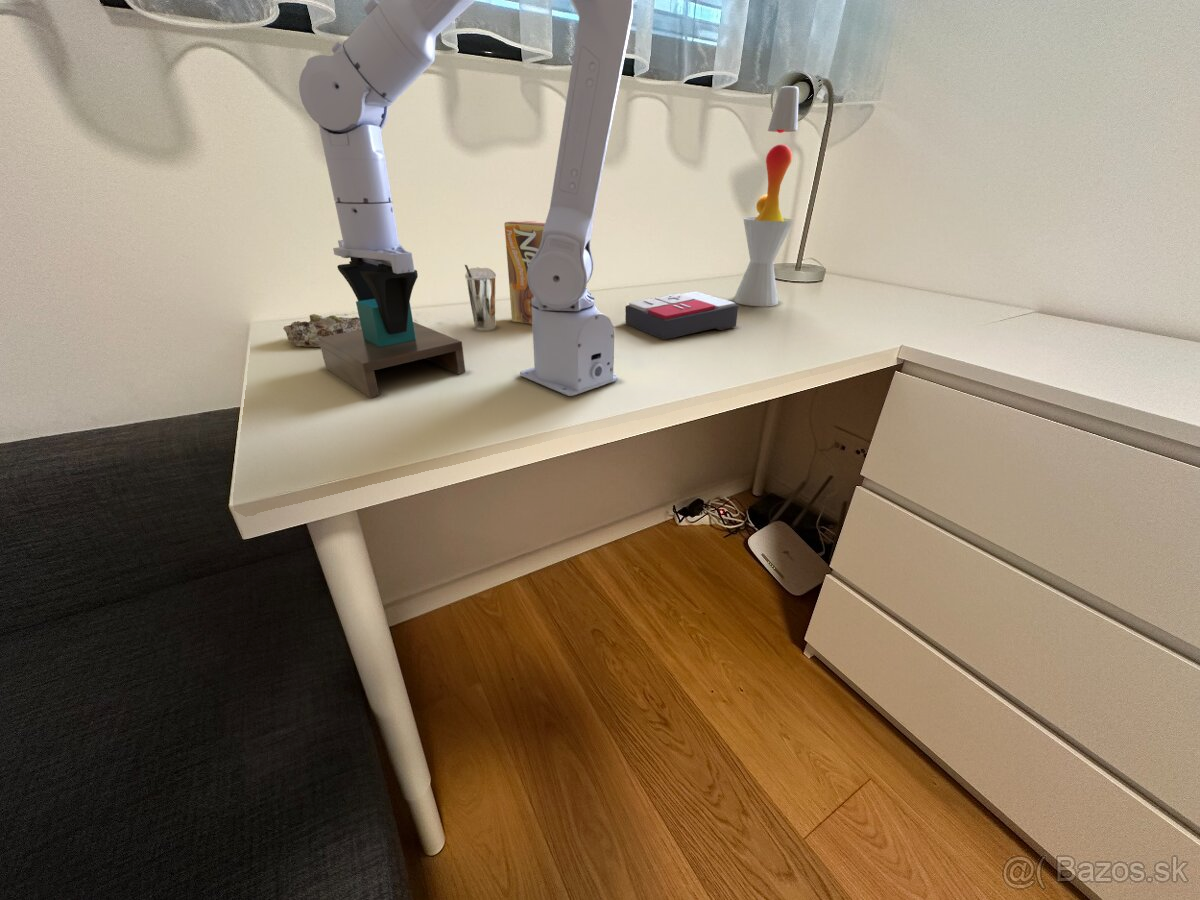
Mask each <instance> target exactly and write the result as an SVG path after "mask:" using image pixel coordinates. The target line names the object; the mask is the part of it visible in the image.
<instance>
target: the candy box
mask: <svg viewBox="0 0 1200 900" xmlns="http://www.w3.org/2000/svg"><path fill="white" fill-rule="evenodd" d="M545 222H546V221H536V220H535V221H534V220H511V221H505V222H504V223H503V224H504V225H503V226H504V236H505V249H506V260H507V261H506V262H507V272H508V273H507V275H508V286H509V299H510V300H509V301H510V311H511V313H510V314H511V321H512V322H514V323H515V322H516V323H522V324H530V325H532V303H531V299H532V298H533V297H534V295H533V294H532V292H531V290H530V288H529V285H528V281H527V270H528V266H529V263H530V261H531V259H532V258H533V256H534V255H535V254H536V252H537V251H538V249H539V247H540V244H541V240H542V233H543V229H544V226H545Z"/></svg>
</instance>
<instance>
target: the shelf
mask: <svg viewBox="0 0 1200 900" xmlns="http://www.w3.org/2000/svg"><path fill="white" fill-rule="evenodd" d="M413 325H414V331H415V337H416V340H412V341H408V342H403V343H398V344H393V345H389V346H384V347H379V346H377V345H375V344H373V343H371V342H369V341H367V340H365V339H364V338H363V333H362V330H357V331H351V332H346V333H340V334H335V335H330V336H324V337H319V338H318V339H319V343H320V347H319V348H320V350H321V354H322V358H323V362H324V367H325V369H326V370H328V371H329V372H330V373H332V374H333V375H334V376H336V377H338V378H339V379H341V380H342V381H344V382H345V383H346V384H348V385H350V386H351V387H353V388H355V390H357V391H359V392H360V393H362V394H363V395H365V396H366V397H368V398H369V399H373V398H377V397H380V393H379V387H378V384H377V383H378V382H377V379H376V374H375V371H377V370H382V369H385V368H390V367H393V366H398V365H402V364H407V363H411V362H415V361H419V360H420V361H421V360H423V359H426V360H428V361H430V362H432V363H434V364H436V365H438V366H441V367H442V368H445V369H446V370H448V371H451V372H453V373H455V374H456V375H461V374H462V375H463V374H465V373H466V366H465V365H466V363H465V358H464V357H465V356H464V347H463V341H462V340H460V339H457V338H454V337H452V336H449V335H447V334H444V333H442V332H439V331H437V330H435V329H432V328H429V327H427V326H425V325H422V324H419V323H417V322H415V321H413Z"/></svg>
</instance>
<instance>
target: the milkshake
mask: <svg viewBox="0 0 1200 900" xmlns="http://www.w3.org/2000/svg"><path fill="white" fill-rule="evenodd" d="M464 267H465V270H466V273H465V275H464V278H465V281H466V288H467V290H468V296H469V297H468V298H469V302H470V307H471V314H472V319H473V325H474V329H475V330H477V331H483V332H484V331H492V330H494V329H496V287H497V286H496V285H497V282H496V280H497V275H496V272H494V270H492V269H491V268H489V267H479V266H478V267H477V266H476V267H471V268H469V267H468V264H464Z"/></svg>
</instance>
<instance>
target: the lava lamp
mask: <svg viewBox="0 0 1200 900" xmlns="http://www.w3.org/2000/svg"><path fill="white" fill-rule="evenodd" d="M799 91H800V89H799V87H798V86H795V85H784V86H781V87H780V88H779V89H778V92H777V97H776V100H775V104H774V107H773V110H772V114H771V117H770V121H769V125H768V128H767V131H768V132H773V133H779V134H782V133H788V132H791V133H793V132H798V129H799V127H798V126H799V98H800V97H799V94H800V92H799ZM792 160H793V153H792V150H791V148H790V147H789V146H788V145H786V144H777V145H775V146H773V147H772V148H771V149H769V151H768V153H767V154H766V158H765V164H766V172H767V194H763V195H762V196H760V197H759V198H758V199H757V202H756V207H755V208H756V211H757V213H758V215H757V216H750V217H748V216H747V217H743V225H744V232H745V237H746V242H747V249H748V250H747V251H748V255H749V263H748V265H747V268H746V269H745V271H744V274H743V277H742V279H741V281H740V283H739V286H738V287H737V290H736V292H735V293H734V294H735V295H734V296H733V298H732V302H734V303H735V304H738V305H743V306H750V307H773V306H777V305H778V304H779V299H778V292H777V285H776V284H777V283H776V275H775V267H774V266H775V265H774V262H775V259H776V258H777V256H778V254H779V252H780V250H781V248H782V246H783V244H784V242H785V240H786V238H787V236H788V234H789V232H790V230H791V228H792V227H793V224H794V222H795V220H794V219H792V218H787V217H785V218H784V217H783V215H782V213H781V208H780V201H779V199H780V198H779V197H780V190H781V185H782V182H783V180H784V177H785V175H786V173H787V171H788V169H789V167H790V165H791V163H792Z"/></svg>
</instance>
